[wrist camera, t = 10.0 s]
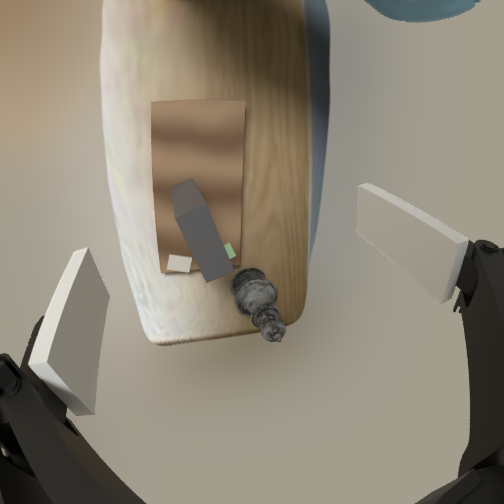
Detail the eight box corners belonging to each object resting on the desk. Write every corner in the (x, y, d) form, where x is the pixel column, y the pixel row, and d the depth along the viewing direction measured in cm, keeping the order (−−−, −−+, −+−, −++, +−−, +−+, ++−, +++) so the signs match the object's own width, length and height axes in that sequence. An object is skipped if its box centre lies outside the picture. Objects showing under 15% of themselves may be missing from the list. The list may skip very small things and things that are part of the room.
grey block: (169, 187, 30) (173, 218, 21) (193, 176, 30) (207, 203, 21) (204, 262, 35) (221, 314, 26) (225, 252, 35) (249, 301, 26)
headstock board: (152, 102, 26) (151, 101, 25) (241, 101, 29) (245, 100, 28) (160, 267, 35) (161, 273, 34) (236, 259, 38) (239, 264, 37)
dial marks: (163, 255, 33) (163, 256, 33) (234, 241, 35) (234, 242, 35) (168, 277, 35) (169, 278, 34) (236, 263, 37) (237, 264, 36)
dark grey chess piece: (271, 265, 40) (309, 317, 30) (265, 300, 43) (298, 356, 32) (230, 266, 38) (258, 324, 28) (226, 302, 41) (251, 363, 31)
